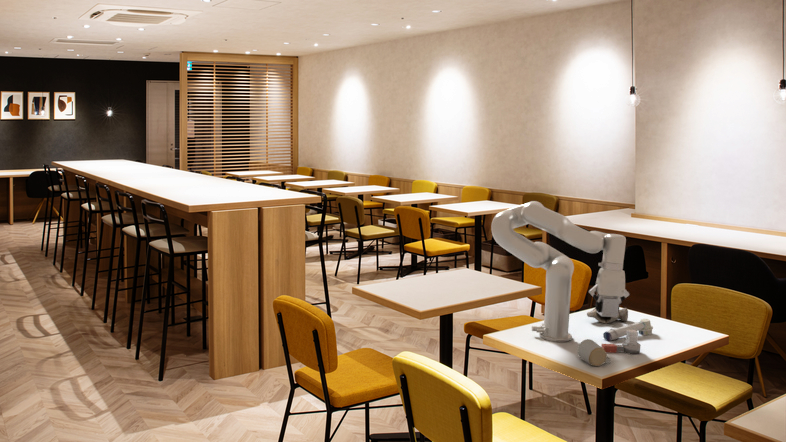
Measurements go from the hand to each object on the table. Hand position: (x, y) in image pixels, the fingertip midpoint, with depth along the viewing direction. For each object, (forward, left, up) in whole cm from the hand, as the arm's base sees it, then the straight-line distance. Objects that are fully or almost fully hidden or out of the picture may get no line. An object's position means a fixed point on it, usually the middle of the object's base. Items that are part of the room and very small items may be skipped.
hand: (606, 311), depth 233 cm
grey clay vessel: (+13, +30, -13) cm, 35 cm away
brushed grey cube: (0, 0, -1) cm, 1 cm away
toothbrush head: (+13, +10, -13) cm, 22 cm away
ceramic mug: (-11, -21, -13) cm, 27 cm away
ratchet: (+3, -8, -13) cm, 16 cm away
